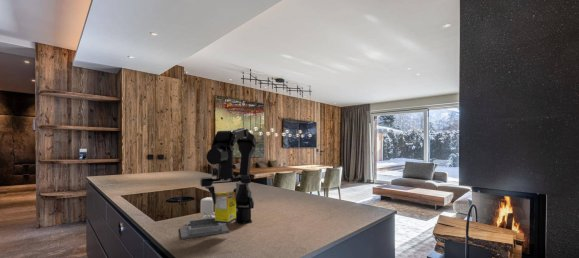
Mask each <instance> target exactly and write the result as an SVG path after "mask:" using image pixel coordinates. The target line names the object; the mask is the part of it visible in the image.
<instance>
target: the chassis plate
mask: <svg viewBox="0 0 579 258" xmlns="http://www.w3.org/2000/svg"><path fill="white" fill-rule="evenodd" d="M179 232H180V238H181V240H186V239H193V238H199V237H205V236H206V237H207V236H213V235H219V234H226V233H230V229H229V227H228V226H227V224H226V223H215V218H207V219H192V220H191V219H190V220H187V221H186V225H185V226H183V225H182V226H179Z"/></svg>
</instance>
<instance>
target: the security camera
mask: <svg viewBox="0 0 579 258" xmlns="http://www.w3.org/2000/svg"><path fill="white" fill-rule="evenodd" d="M200 214H204V215H203V216H201V217H199V219H207V218H215V204H214V203H213V200H212V197H211V196H209V197H207V196H206V197H204V198H202V199H201V200H200ZM213 214H214V215H213Z"/></svg>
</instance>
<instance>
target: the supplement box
mask: <svg viewBox="0 0 579 258" xmlns="http://www.w3.org/2000/svg"><path fill="white" fill-rule="evenodd" d="M214 216H215V223H225V224H226V225H227V224H231V223H232V222H234V221H235V220H236V192H233V191H221V192H216V193H215V213H214Z"/></svg>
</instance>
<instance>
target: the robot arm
mask: <svg viewBox="0 0 579 258" xmlns="http://www.w3.org/2000/svg"><path fill="white" fill-rule="evenodd" d="M236 144H237V146H238V148H237V149H238V151H239V153H240V165H239V173H238V175H237V177H236V176H235V177H234V151H235V148H234V146H235V145H236ZM256 147H257V139H256V137H255V135H254V134H253V133H251V132H250V131H249V129H248V128H246V127H243V128H240V127H239V128H237V129H234V130H218V131H216V133H215V134H214V137H213V140H212V143H211V148H210V149H209V150H208V151H207V152H206V161H207V162H208V163H209V164H210V165H217V167H211V176H205V177H201V178H199V186H200V187H202V188H205V189H207V190H208V191H209V193H210V197H212V200H213V203H214V204H215V194H216V191H215V186H214V184H215V185H216V184H225V183H235V188H234V189H233V191H232V192H236V220H234V221H235V222H236V223H237V224H239V225H240V224H246V223H247V224H249V223H252V222H253V220H252V213H251V212H252V209H254V206H255V200H254V199H253V197H252V190H251V189H250V187H249V184H250V183H251V181H252V180H251V177H250V172H251V171H250V170H251V161H252V156H253V154H255V151H256ZM212 177H213V178H212ZM214 177H216V178H214Z"/></svg>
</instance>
